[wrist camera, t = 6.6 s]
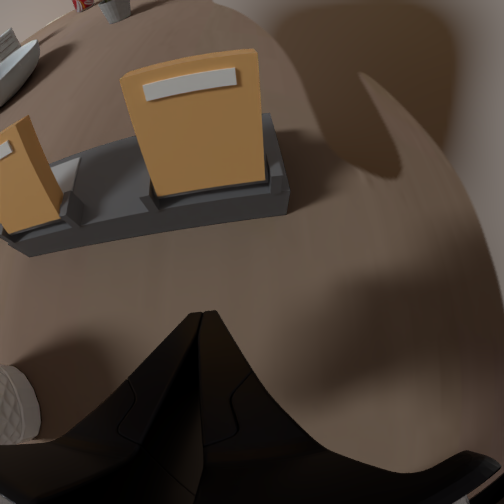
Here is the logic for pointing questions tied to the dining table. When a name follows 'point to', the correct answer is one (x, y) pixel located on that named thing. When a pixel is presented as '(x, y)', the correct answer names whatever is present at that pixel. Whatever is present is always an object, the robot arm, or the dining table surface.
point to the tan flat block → (26, 181)
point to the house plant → (115, 9)
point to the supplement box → (8, 44)
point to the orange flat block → (199, 122)
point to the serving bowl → (17, 69)
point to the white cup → (17, 407)
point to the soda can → (82, 4)
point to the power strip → (144, 199)
